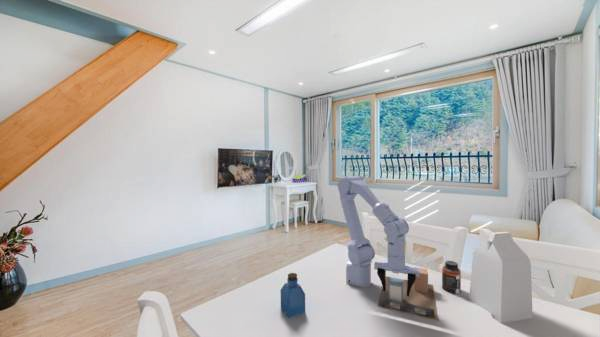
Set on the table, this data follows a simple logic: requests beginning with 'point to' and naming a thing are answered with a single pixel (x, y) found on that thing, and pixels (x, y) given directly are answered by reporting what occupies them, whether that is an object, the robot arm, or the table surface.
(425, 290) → the peach carton
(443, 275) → the supplement bottle
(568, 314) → the table surface
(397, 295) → the slate carton
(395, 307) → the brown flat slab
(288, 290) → the perfume bottle
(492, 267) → the milk
